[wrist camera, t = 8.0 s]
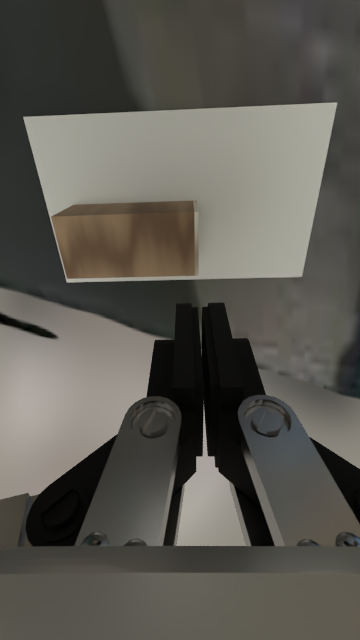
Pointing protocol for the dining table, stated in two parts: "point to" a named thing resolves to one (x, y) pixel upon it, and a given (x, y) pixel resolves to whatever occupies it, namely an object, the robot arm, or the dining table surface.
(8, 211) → the dining table surface
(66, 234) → the walnut block
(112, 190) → the white rectangular board
